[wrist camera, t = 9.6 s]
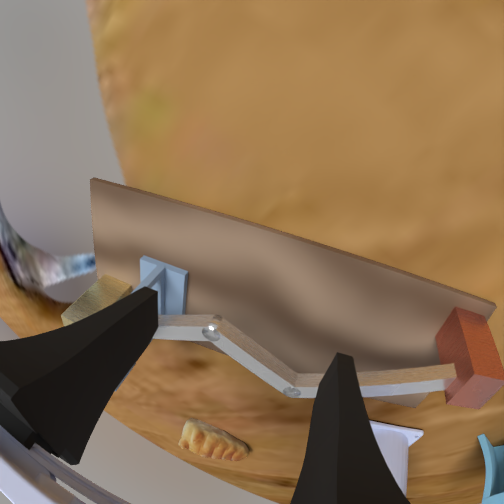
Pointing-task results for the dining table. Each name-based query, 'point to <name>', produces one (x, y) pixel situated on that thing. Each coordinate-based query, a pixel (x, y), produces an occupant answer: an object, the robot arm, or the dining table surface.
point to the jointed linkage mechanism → (306, 385)
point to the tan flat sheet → (279, 285)
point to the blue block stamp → (164, 287)
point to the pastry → (211, 442)
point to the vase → (493, 472)
